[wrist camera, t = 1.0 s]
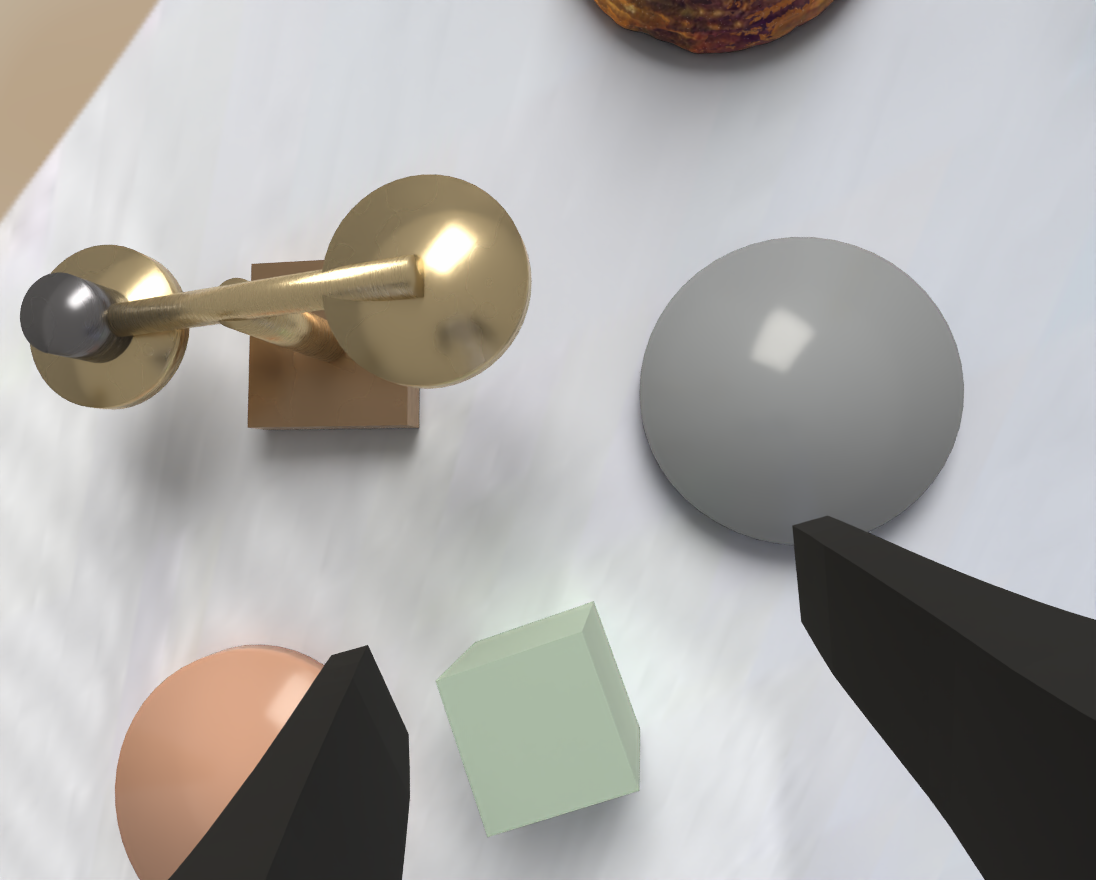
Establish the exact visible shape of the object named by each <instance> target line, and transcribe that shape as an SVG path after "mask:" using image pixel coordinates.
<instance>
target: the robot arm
mask: <svg viewBox="0 0 1096 880" xmlns="http://www.w3.org/2000/svg"><path fill="white" fill-rule="evenodd" d="M792 529H793V539H794V550H795V560H796V571H797V581H798V592H799V602H800V613H801V622H802V624H803V625H804V627H805V629H806V630H807V632H808V634H809V636H810V637H811V639H812V641H813V642H814V644H815V646H816V648H817V649H818V651H819V653H820V654H821V656H822V657H823V659H824V661H825V662H826V664H827V666H828V667H829V669H830V670H831V672H832V674H833V675H834V676H835V678H836V679H837V680H838V682H839V683H840V684H841V686H842V687H843V688H844V690H845V691H846V692H847V694H848V695H849V696H850V697H851V699H852V700H853V701H854V703H855V704H856V705H857V706H858V708H859V709H860V710H861V712H862V713H863V714H864V715H865V717H866V718H867V719H868V721H869V722H870V723H871V724H872V726H873V727H874V728H875V729H876V731H877V732H878V733H879V735H880V736H881V737H882V738H883V740H884V741H885V742H886V743H887V745H888V746H889V747H890V749H891V750H892V751H893V752H894V754H895V755H896V756H897V757H898V759H899V760H900V761H901V763H902V764H903V765H904V766H905V768H906V769H907V770H908V772H909V773H910V774H911V775H912V777H913V778H914V779H915V780H916V782H917V783H918V784H919V786H920V787H921V788H922V789H923V791H924V792H925V793H926V794H927V796H928V797H929V798H930V800H931V801H932V802H933V804H934V805H935V807H936V808H937V809H938V811H939V812H940V813H941V815H942V816H943V818H944V819H945V820H946V822H947V823H948V824H949V826H950V827H951V829H952V830H953V832H954V833H955V835H956V836H957V838H958V839H959V841H960V843H961V844H962V846H963V847H964V849H965V850H966V852H967V853H968V855H969V856H970V858H971V859H972V861H973V862H974V864H975V866H976V867H977V869H978V870H979V872H980V873H981V875H982V876H983V878H984V879H985V880H1096V620H1094V619H1091V618H1088V617H1084V616H1081V615H1078V614H1074V613H1071V612H1068V611H1065V610H1062V609H1059V608H1056V607H1053V606H1050V605H1047V604H1044V603H1041V602H1038V601H1035V600H1033V599H1030V598H1027V597H1024V596H1022V595H1019V594H1016V593H1013V592H1011V591H1008V590H1005V589H1003V588H1000V587H997V586H994V585H992V584H989V583H986V582H984V581H981V580H979V579H976V578H974V577H971V576H969V575H966V574H964V573H961V572H959V571H956V570H954V569H951V568H949V567H946V566H944V565H942V564H939V563H937V562H935V561H932V560H930V559H927V558H925V557H923V556H920V555H918V554H916V553H914V552H911V551H909V550H907V549H904V548H902V547H900V546H898V545H895V544H893V543H891V542H888V541H886V540H884V539H882V538H879V537H877V536H875V535H873V534H870V533H868V532H866V531H864V530H861V529H859V528H857V527H854V526H852V525H850V524H847V523H845V522H843V521H840V520H838V519H835V518H833V517H830V516H824V517H820V518H817V519H813V520H810V521H806V522H803V523H799V524H796V525H792ZM409 801H410V765H409V734H408V732H407V730H406V727H405V725H404V723H403V721H402V719H401V717H400V714H399V712H398V710H397V708H396V706H395V703H394V701H393V699H392V697H391V695H390V692H389V690H388V688H387V686H386V684H385V681H384V679H383V677H382V675H381V673H380V670H379V668H378V666H377V664H376V662H375V659H374V657H373V655H372V653H371V651H370V649H369V646H368V645H366V646H363V647H359V648H356V649H352V650H349V651H345V652H342V653H338V654H334V655H331V657H330V658H329V660H328V661H327V662H326V664H325V665H324V667H323V668H322V669H321V671H320V672H319V674H318V675H317V677H316V678H315V680H314V681H313V683H312V684H311V686H310V687H309V689H308V690H307V692H306V693H305V695H304V696H303V698H302V699H301V701H300V702H299V704H298V705H297V707H296V708H295V710H294V711H293V713H292V714H291V716H290V717H289V719H288V720H287V722H286V723H285V725H284V726H283V728H282V729H281V731H280V732H279V733H278V735H277V736H276V738H275V739H274V741H273V742H272V744H271V745H270V747H269V748H268V750H267V751H266V752H265V754H264V755H263V757H262V758H261V760H260V761H259V763H258V764H257V765H256V767H255V768H254V770H253V771H252V772H251V774H250V775H249V776H248V778H247V779H246V780H245V782H244V783H243V784H242V786H241V787H240V788H239V790H238V791H237V792H236V794H235V795H234V796H233V798H232V799H231V801H230V802H229V803H228V805H227V806H226V807H225V809H224V810H223V811H222V813H221V814H220V815H219V817H218V818H217V819H216V821H215V822H214V823H213V825H212V826H211V827H210V829H209V830H208V831H207V833H206V834H205V835H204V836H203V838H202V839H201V840H200V841H199V843H198V844H197V845H196V847H195V848H194V849H193V850H192V851H191V853H190V854H189V855H188V856H187V858H186V859H185V860H184V861H183V862H182V864H181V865H180V866H179V867H178V869H177V870H176V871H175V872H174V873H173V874H172V876H171V877H170V878H169V879H168V880H402V874H403V864H404V854H405V844H406V834H407V823H408V813H409Z"/></svg>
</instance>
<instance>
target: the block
mask: <svg viewBox="0 0 1096 880" xmlns="http://www.w3.org/2000/svg"><path fill="white" fill-rule="evenodd" d="M436 683H437V687H438V690H439V693H440V696H441V699H442V702H443V705H444V708H445V711H446V714H447V717H448V720H449V723H450V726H451V729H452V732H453V735H454V738H455V741H456V744H457V747H458V750H459V753H460V756H461V759H462V762H463V765H464V768H465V771H466V774H467V777H468V780H469V783H470V786H471V789H472V792H473V795H474V798H475V801H476V804H477V807H478V810H479V813H480V816H481V819H482V822H483V825H484V828H485V831H486V834H487V837H490V836H493V835H497V834H500V833H503V832H506V831H510V830H513V829H516V828H519V827H523V826H526V825H529V824H533V823H536V822H539V821H542V820H546V819H549V818H552V817H555V816H559V815H562V814H565V813H568V812H572V811H575V810H578V809H582V808H585V807H588V806H591V805H595V804H598V803H601V802H604V801H608V800H611V799H614V798H617V797H621V796H624V795H627V794H630V793H634V792H637V791H639V776H640V727H639V725H638V722H637V719H636V716H635V714H634V711H633V708H632V705H631V703H630V700H629V697H628V694H627V692H626V689H625V686H624V683H623V681H622V678H621V675H620V672H619V669H618V667H617V664H616V661H615V658H614V656H613V653H612V650H611V647H610V645H609V642H608V639H607V636H606V634H605V631H604V628H603V625H602V623H601V620H600V617H599V614H598V612H597V609H596V606H595V603H594V601H593V602H590V603H587V604H584V605H582V606H579V607H576V608H573V609H570V610H567V611H564V612H561V613H558V614H555V615H553V616H550V617H547V618H544V619H541V620H538V621H535V622H532V623H529V624H526V625H524V626H521V627H518V628H515V629H512V630H509V631H506V632H503V633H500V634H498V635H495V636H492V637H489V638H486V639H483V640H480V641H477V642H475V643H474V644H473V645H472V646H471V647H470V648H469V649H468V650H467V651H466V652H465V653H464V654H463V655H462V656H461V657H460V658H459V659H457V660H456V661H455V662H454V663H453V664H452V665H451V666H450V667H449V668H448V669H447V670H446V671H445V672H444V673H443V674H442V675H441V676H440V677H439V678H438V679H437V680H436Z"/></svg>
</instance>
